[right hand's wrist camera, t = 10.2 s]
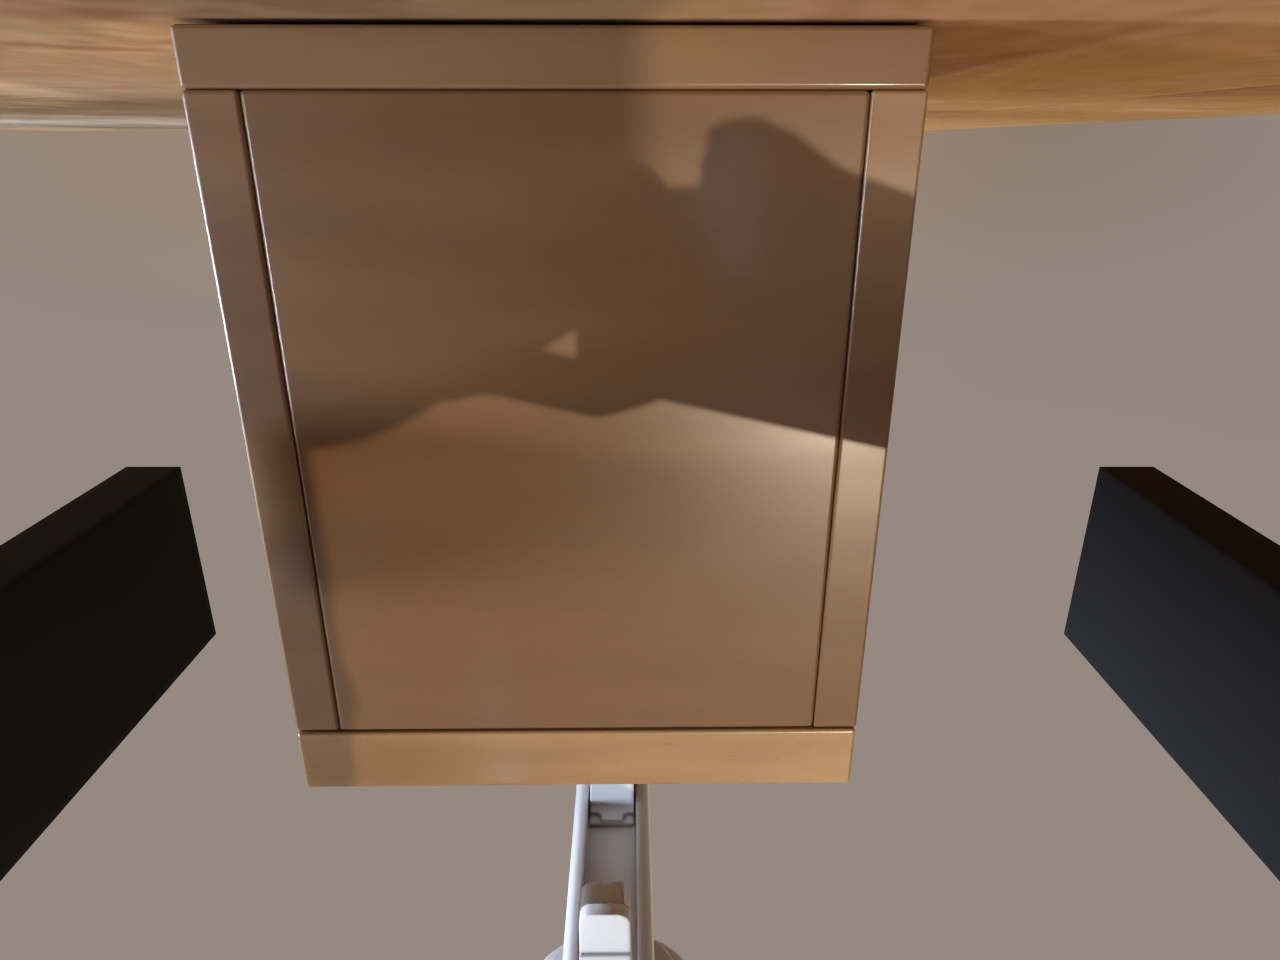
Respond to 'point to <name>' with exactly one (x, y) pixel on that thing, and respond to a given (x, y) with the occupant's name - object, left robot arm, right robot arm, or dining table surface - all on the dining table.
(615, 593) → the chest
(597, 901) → the left robot arm
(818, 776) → the lid
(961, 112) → the dining table surface
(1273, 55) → the dining table surface
